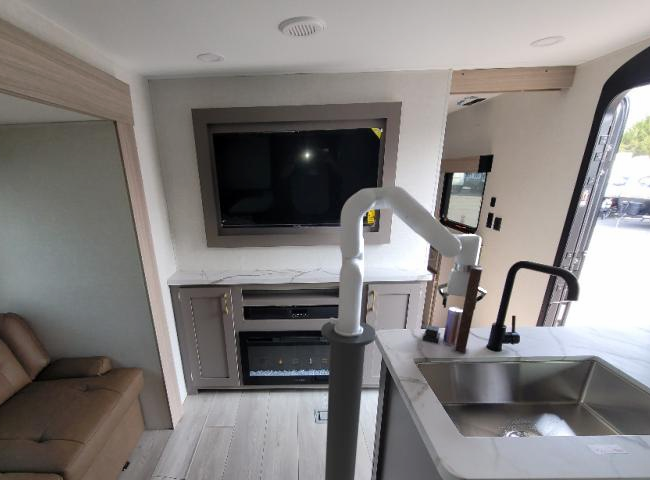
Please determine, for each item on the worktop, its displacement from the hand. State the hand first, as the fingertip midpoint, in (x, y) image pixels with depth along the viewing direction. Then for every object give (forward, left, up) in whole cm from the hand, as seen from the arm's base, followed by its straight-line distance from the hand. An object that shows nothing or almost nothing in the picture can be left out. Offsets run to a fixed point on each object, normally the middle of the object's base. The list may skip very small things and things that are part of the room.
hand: (457, 308), depth 130 cm
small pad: (-8, -1, -13) cm, 15 cm away
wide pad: (-8, -1, -15) cm, 17 cm away
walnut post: (+4, -5, -15) cm, 17 cm away
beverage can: (0, 0, -16) cm, 16 cm away
